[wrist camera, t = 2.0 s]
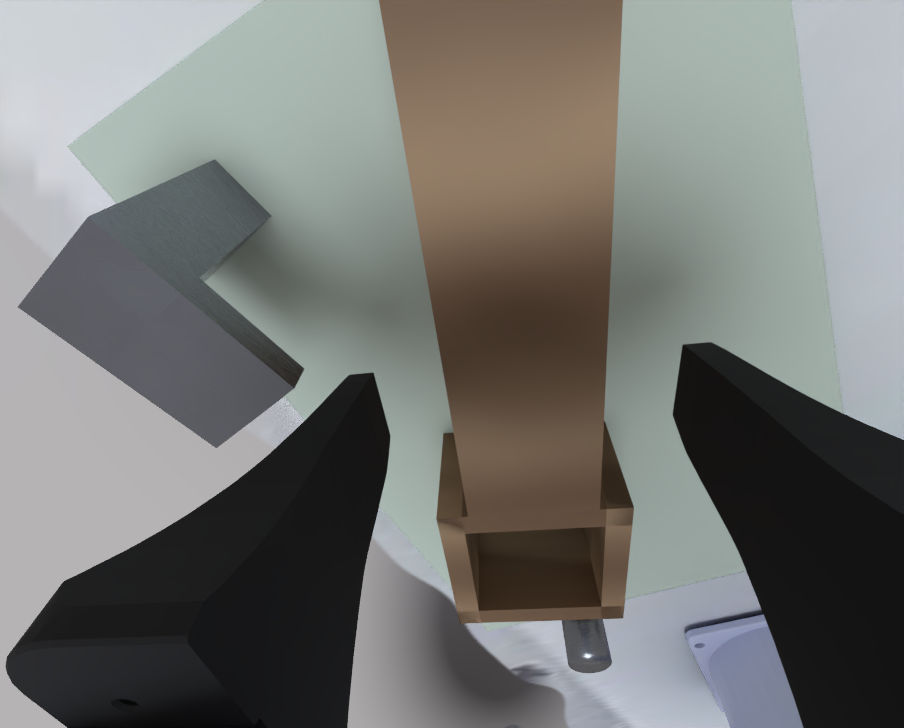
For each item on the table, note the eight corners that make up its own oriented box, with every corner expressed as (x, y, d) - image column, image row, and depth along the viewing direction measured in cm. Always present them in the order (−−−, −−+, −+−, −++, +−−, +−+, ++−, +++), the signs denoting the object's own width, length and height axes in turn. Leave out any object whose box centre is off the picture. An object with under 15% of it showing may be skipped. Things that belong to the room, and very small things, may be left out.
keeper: (345, 289, 16) (294, 388, 11) (285, 340, 17) (216, 448, 12) (214, 159, 14) (88, 216, 9) (155, 226, 15) (17, 306, 10)
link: (599, 527, 21) (623, 618, 18) (462, 534, 22) (459, 623, 19) (628, -83, 10) (699, -141, 7) (355, -34, 11) (304, -65, 8)
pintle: (592, 558, 22) (617, 668, 19) (559, 567, 23) (576, 675, 19) (580, 538, 22) (603, 648, 18) (546, 547, 22) (561, 656, 18)
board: (852, 534, 22) (859, 544, 21) (487, 622, 27) (487, 631, 26) (733, -341, 9) (745, -359, 8) (79, 143, 14) (67, 146, 14)
